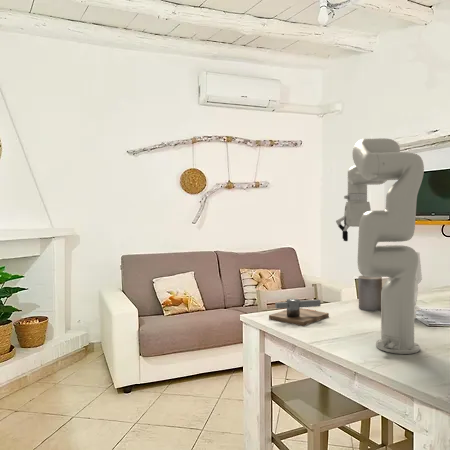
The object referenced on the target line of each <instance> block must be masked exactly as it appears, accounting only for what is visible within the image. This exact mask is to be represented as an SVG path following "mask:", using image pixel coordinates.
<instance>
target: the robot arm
mask: <svg viewBox="0 0 450 450" xmlns="http://www.w3.org/2000/svg"><path fill="white" fill-rule="evenodd" d="M352 161H353V163H354V165H352V166H351V167H350V168H349V169H348V170H347V194H346V195H344V196H343V199H344V200H346V202H345V207H344V212H343V213H344V214H343V216H341V217H340V218H338V219H336V220H335V223H336V225H337V227H338V228H339V230H341V231H342V239H343V242H348V241H349V233H348V232H349V231H348V229H349V228H350V227H353V228H354V227H355V228H357V227H358V239H357V240H358V242H357V244H358V245H357V268H358V272H359V273H360V275H361V276H366V277H382V278H387V279H386V281H385V282H384V283H383V284H382V291H381V310H380V311H381V314H380V316H381V317H380V318H381V319H380V326H381V327H380V339H378V340H376V341H375V347H376V348H377V349H379V350H381V351H383V352H387V353H390V354H395V355H396V354H397V355H410V354H411V355H412V354H416V353H418V352H419V351H420V350H421V346H420V345H419V344H418V343H417V342H415V319H414V297H415V277H416V272H417V267H418V255H417V253H416V252H417V251H416V250H415V249H414V248H413V247H411V246H408V245H402V244H401V245H398V244H395V245H392V244H390V245H389V244H387V245H377V244H378V243H397V242H398V243H401V242H407V241H409V240H412V238H413V237H414V235H415V231H416V218H417V217H416V214H417V200H418V194H419V191H420V188H421V185H422V181H423V179H424V175H425V173H424V171H425V165H424V161H423V158H422V157H421V156H420V155H419V154H417V153H414V152H407V151H406V152H405V151H401V148H400V145H399V143H398V142H397V141H395V140H394V139H392V138H381V137H380V138H362V139H359V140H358V141H356V143H355V144H354V146H353V148H352ZM388 181H395V182H394V183H393V184H392V185H391V187H390V188H389V190H388V191H387V192H386V196H385V198H386V199H385V207H384V208H385V209H383V210H371V203H370V201H368V186H369V185H370V186H371V185H373V186H374V185H375V186H376V185H377V186H378V185H379V186H380V185H382V184H385V183H386V182H388ZM342 222H343V224H344V225H343V224H342Z"/></svg>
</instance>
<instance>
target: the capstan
mask: <svg viewBox="0 0 450 450" xmlns="http://www.w3.org/2000/svg"><path fill="white" fill-rule="evenodd" d="M321 303H322V302H321V299H305V300H304V299H303V300H300V299H298V298H287V299H286V301H283V302H282V301H281V302H278V301H277V302H275V306H274V307H275V309H286V310H287V316H290V317H298V316H300V308H302V309H303V308H316V307H317V308H318V307H321V306H322V305H321Z"/></svg>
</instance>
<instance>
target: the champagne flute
mask: <svg viewBox="0 0 450 450" xmlns="http://www.w3.org/2000/svg"><path fill="white" fill-rule="evenodd" d="M416 253H417V255H418V267H417V272H416V277H415V279H417V283H418V285H419V284H420V283H421V282H422V280H423V277H422V276H423V275H422V267H421V266H422V265H421V257H420V254H421V253H420V252H418V251H416ZM415 310H416V312H417V311H418V312H419V311H422V308H421V307H419V306H417V305H416V308H415Z"/></svg>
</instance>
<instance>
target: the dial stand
mask: <svg viewBox="0 0 450 450" xmlns="http://www.w3.org/2000/svg"><path fill="white" fill-rule="evenodd" d="M329 317H330V313H329V312H323V311H318V310H315V309H314V310H313V309H309V308H303V307H302V308H300V316H298V317H290V316H287V309H285V310H281V311H278V312H275V313H272V314H269V315H268V319H269V320H273V321H277V322H283V323H288V324H292V325H297V326H301V327H305V326H308V325H310V324H313V323H315V322H319V321H321V320H324V319H326V318H329Z"/></svg>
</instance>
